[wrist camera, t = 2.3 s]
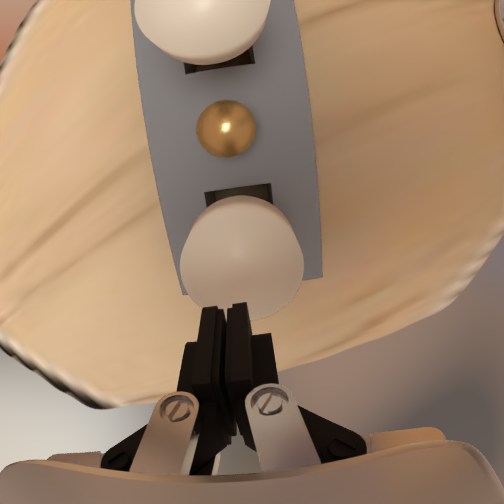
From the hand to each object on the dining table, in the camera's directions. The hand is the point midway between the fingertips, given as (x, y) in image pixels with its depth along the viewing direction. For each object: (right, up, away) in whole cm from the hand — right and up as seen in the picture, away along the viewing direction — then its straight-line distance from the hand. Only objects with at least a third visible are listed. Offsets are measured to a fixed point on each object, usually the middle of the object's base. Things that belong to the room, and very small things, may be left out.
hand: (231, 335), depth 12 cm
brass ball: (-1, +12, +9) cm, 15 cm away
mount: (-1, +14, +15) cm, 21 cm away
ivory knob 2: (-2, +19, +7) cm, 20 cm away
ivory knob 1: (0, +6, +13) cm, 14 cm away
